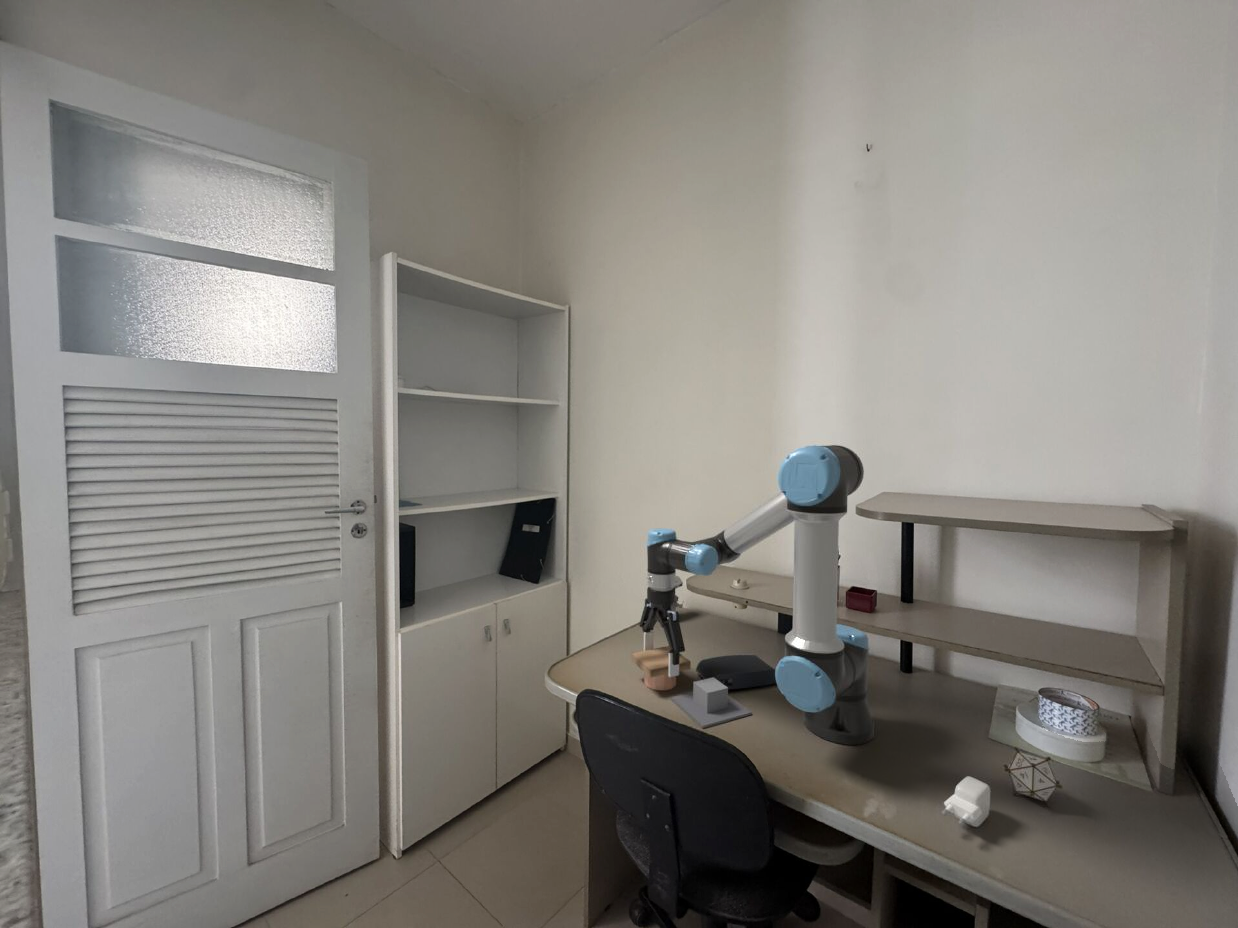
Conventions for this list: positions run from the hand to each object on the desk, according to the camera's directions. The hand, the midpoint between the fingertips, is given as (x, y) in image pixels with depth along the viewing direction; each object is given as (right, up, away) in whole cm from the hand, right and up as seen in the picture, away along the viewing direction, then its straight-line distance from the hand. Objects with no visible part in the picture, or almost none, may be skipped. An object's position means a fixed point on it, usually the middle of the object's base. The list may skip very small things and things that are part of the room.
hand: (660, 664), depth 139 cm
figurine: (+7, -2, +49) cm, 49 cm away
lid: (0, 0, 0) cm, 0 cm away
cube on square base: (+11, -6, -12) cm, 17 cm away
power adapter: (+49, -8, -49) cm, 70 cm away
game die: (+66, -8, -43) cm, 79 cm away
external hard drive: (+21, -5, +3) cm, 22 cm away
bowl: (0, -5, 0) cm, 5 cm away
